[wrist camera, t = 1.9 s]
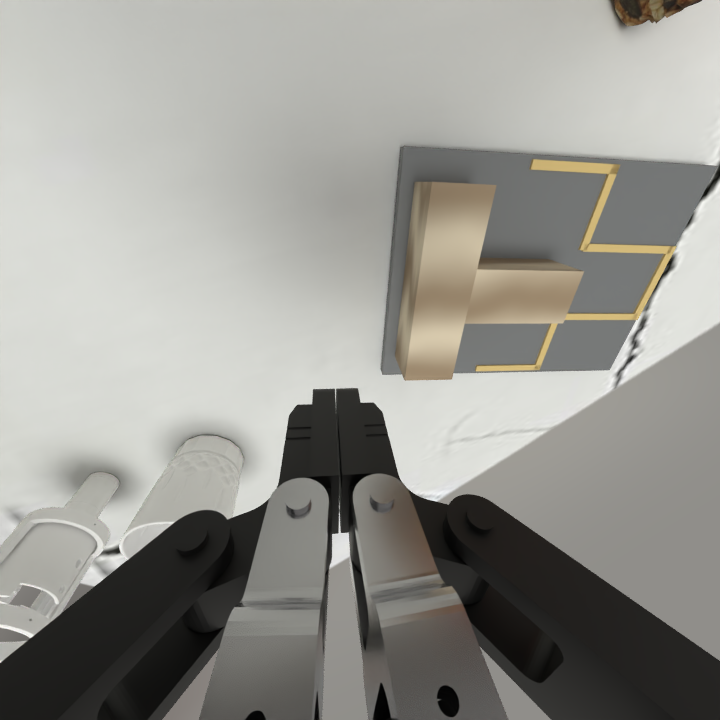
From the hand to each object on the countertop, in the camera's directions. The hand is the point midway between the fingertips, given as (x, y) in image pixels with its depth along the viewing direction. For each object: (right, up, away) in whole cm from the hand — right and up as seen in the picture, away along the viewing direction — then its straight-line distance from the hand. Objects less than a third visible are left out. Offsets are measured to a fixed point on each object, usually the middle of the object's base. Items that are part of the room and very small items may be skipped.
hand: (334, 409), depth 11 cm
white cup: (-15, -9, +23) cm, 29 cm away
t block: (+10, +8, +15) cm, 20 cm away
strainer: (-27, -12, +23) cm, 38 cm away
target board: (+15, +9, +16) cm, 24 cm away
